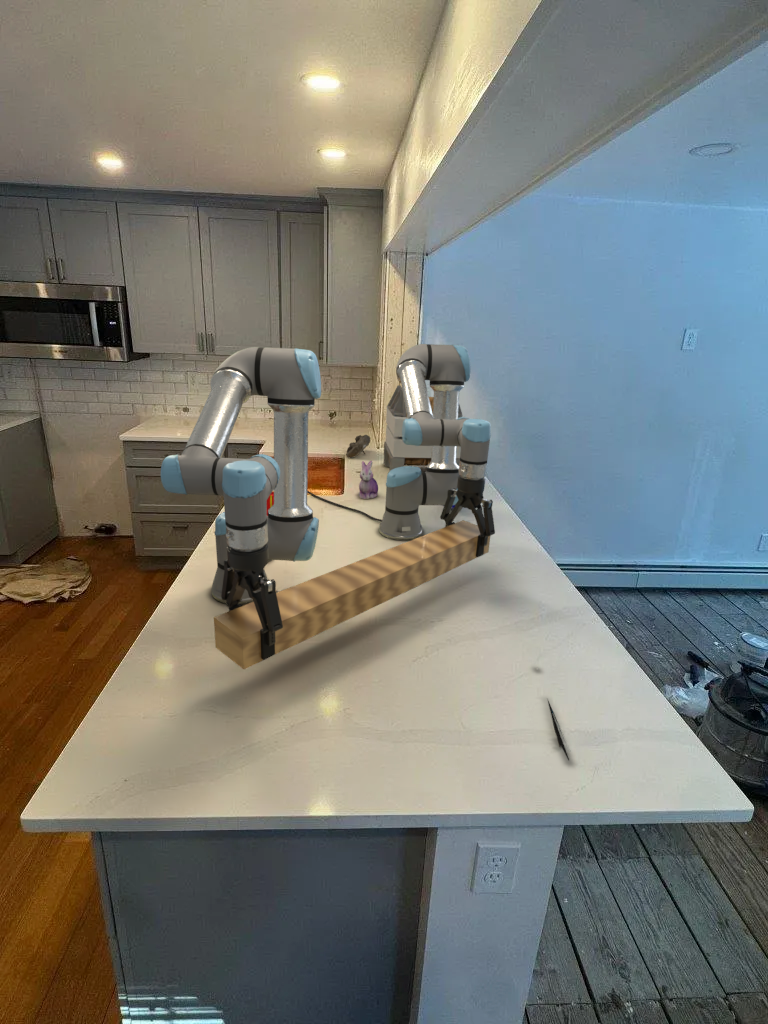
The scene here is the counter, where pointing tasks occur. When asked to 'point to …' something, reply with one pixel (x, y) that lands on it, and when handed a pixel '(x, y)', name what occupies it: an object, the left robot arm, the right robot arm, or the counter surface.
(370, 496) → the figurine
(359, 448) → the fossil
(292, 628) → the long beam
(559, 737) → the feather
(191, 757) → the counter surface
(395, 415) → the grey slatted crate
